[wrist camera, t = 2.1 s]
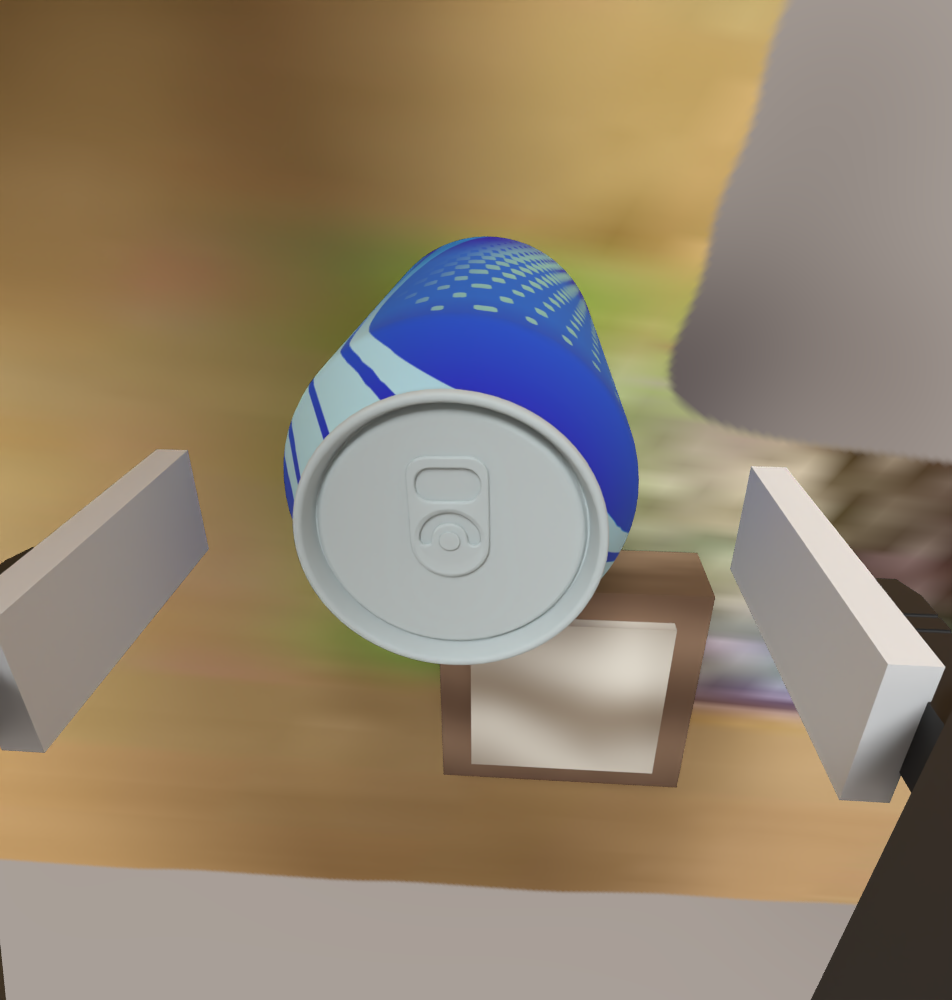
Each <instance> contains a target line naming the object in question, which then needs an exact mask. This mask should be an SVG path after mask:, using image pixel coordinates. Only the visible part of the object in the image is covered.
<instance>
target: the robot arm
mask: <svg viewBox="0 0 952 1000" xmlns="http://www.w3.org/2000/svg"><path fill="white" fill-rule="evenodd" d="M208 549H209V548H208V543H207V538H206V534H205V529H204V524H203V520H202V515H201V510H200V505H199V501H198V496H197V491H196V487H195V482H194V477H193V473H192V468H191V463H190V459H189V454H188V450H165V449H156V450H155V451H154V452H153V453H151V454H150V455H149V456H148V457H146V458H145V459H144V460H143V461H141V462H140V463H139V464H138V465H136V466H135V467H134V468H133V469H131V470H130V471H129V472H128V473H126V474H125V475H124V476H123V477H121V478H120V479H119V480H118V481H116V482H115V483H114V484H113V485H111V486H110V487H109V488H108V489H107V490H105V491H104V492H103V493H102V494H100V495H99V496H98V497H97V498H95V499H94V500H93V501H92V502H90V503H89V504H88V505H87V506H85V507H84V508H83V509H82V510H80V511H79V512H78V513H77V514H75V515H74V516H73V517H72V518H70V519H69V520H68V521H67V522H65V523H64V524H63V525H62V526H60V527H59V528H58V529H57V530H55V531H54V532H53V533H52V534H50V535H49V536H48V537H47V538H45V539H44V540H43V541H42V542H40V543H39V544H38V545H37V546H35V547H32V548H30V549H28V550H26V551H24V552H22V553H20V554H18V555H16V556H13V557H11V558H9V559H7V560H5V561H4V562H3V563H1V564H0V747H1V749H2V750H9V751H25V752H42V753H45V752H46V750H47V749H48V748H49V747H50V745H51V744H52V743H53V742H54V740H55V739H56V738H57V737H58V735H59V734H60V733H61V732H62V731H63V729H64V728H65V727H66V726H67V724H68V723H69V722H70V721H71V719H72V718H73V717H74V716H75V714H76V713H77V712H78V711H79V709H80V708H81V707H82V706H83V704H84V703H85V702H86V701H87V700H88V698H89V697H90V696H91V695H92V693H93V692H94V691H95V690H96V688H97V687H98V686H99V685H100V683H101V682H102V681H103V680H104V678H105V677H106V676H107V675H108V673H109V672H110V671H111V670H112V668H113V667H114V666H115V665H116V664H117V662H118V661H119V660H120V659H121V657H122V656H123V655H124V654H125V652H126V651H127V650H128V649H129V647H130V646H131V645H132V644H133V642H134V641H135V640H136V639H137V637H138V636H139V635H140V634H141V632H142V631H143V630H144V629H145V628H146V626H147V625H148V624H149V623H150V621H151V620H152V619H153V618H154V616H155V615H156V614H157V613H158V611H159V610H160V609H161V608H162V606H163V605H164V604H165V603H166V601H167V600H168V599H169V598H170V596H171V595H172V594H173V593H174V592H175V590H176V589H177V588H178V587H179V585H180V584H181V583H182V582H183V580H184V579H185V578H186V577H187V575H188V574H189V573H190V572H191V570H192V569H193V568H194V567H195V565H196V564H197V563H198V562H199V560H200V559H201V558H202V557H203V556H204V554H205V553H206V552H207V551H208ZM730 569H731V572H732V574H733V576H734V578H735V580H736V582H737V584H738V586H739V588H740V591H741V593H742V595H743V597H744V599H745V601H746V603H747V605H748V608H749V610H750V612H751V614H752V616H753V618H754V620H755V622H756V624H757V627H758V629H759V631H760V633H761V635H762V637H763V639H764V641H765V644H766V646H767V648H768V650H769V652H770V654H771V656H772V658H773V660H774V663H775V665H776V667H777V669H778V671H779V673H780V675H781V677H782V679H783V682H784V684H785V686H786V688H787V690H788V692H789V694H790V696H791V699H792V701H793V703H794V705H795V707H796V709H797V711H798V713H799V715H800V718H801V720H802V722H803V724H804V726H805V728H806V730H807V732H808V735H809V737H810V739H811V741H812V743H813V745H814V747H815V749H816V751H817V754H818V756H819V758H820V760H821V762H822V764H823V766H824V768H825V771H826V773H827V775H828V777H829V779H830V781H831V783H832V785H833V787H834V790H835V792H836V794H837V796H838V798H839V800H849V801H866V802H883V803H890V801H891V798H892V796H893V794H894V791H895V789H896V786H897V784H898V781H899V779H900V776H902V778H903V779H904V781H905V783H906V784H907V786H908V788H909V790H910V791H911V795H910V797H909V799H908V801H907V803H906V805H905V807H904V809H903V811H902V814H901V816H900V818H899V820H898V822H897V824H896V826H895V828H894V830H893V832H892V834H891V836H890V838H889V840H888V842H887V844H886V846H885V848H884V851H883V853H882V855H881V857H880V859H879V861H878V863H877V865H876V867H875V869H874V871H873V873H872V875H871V877H870V879H869V881H868V883H867V886H866V888H865V890H864V892H863V894H862V896H861V898H860V900H859V902H858V904H857V906H856V908H855V910H854V912H853V914H852V916H851V918H850V921H849V923H848V925H847V927H846V929H845V931H844V933H843V935H842V937H841V939H840V941H839V943H838V945H837V947H836V949H835V952H834V953H833V955H832V958H831V960H830V962H829V964H828V966H827V968H826V970H825V972H824V974H823V976H822V978H821V980H820V982H819V985H818V986H817V988H816V990H815V992H814V994H813V997H812V999H811V1000H952V633H951V629H950V628H949V627H948V626H947V624H946V623H945V622H944V621H943V620H942V619H941V618H938V614H937V613H936V612H935V611H934V609H933V608H932V607H931V606H930V605H929V604H928V603H927V601H926V600H925V599H924V598H923V597H922V596H921V595H920V594H918V593H917V592H915V591H913V590H912V589H910V588H909V587H907V586H906V585H904V584H903V583H901V582H900V581H898V580H897V579H882V578H874V577H873V576H872V574H871V573H870V572H869V571H868V569H867V568H866V567H865V566H864V564H863V563H862V562H861V561H860V559H859V558H858V557H857V556H856V554H855V553H854V552H853V551H852V549H851V548H850V547H849V546H848V544H847V543H846V542H845V541H844V539H843V538H842V537H841V536H840V534H839V533H838V532H837V531H836V529H835V528H834V527H833V526H832V524H831V523H830V522H829V521H828V519H827V518H826V517H825V516H824V514H823V513H822V512H821V510H820V509H819V508H818V507H817V505H816V504H815V503H814V502H813V500H812V499H811V498H810V497H809V495H808V494H807V493H806V492H805V490H804V489H803V488H802V487H801V485H800V484H799V483H798V482H797V480H796V479H795V478H794V477H793V475H792V474H791V473H790V472H789V470H788V469H787V468H786V467H755V466H751V470H750V475H749V480H748V485H747V490H746V495H745V500H744V505H743V510H742V514H741V519H740V524H739V529H738V534H737V539H736V544H735V549H734V554H733V558H732V563H731V568H730ZM0 1000H6V997H5V986H4V976H3V966H2V957H1V947H0Z"/></svg>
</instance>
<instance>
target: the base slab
mask: <svg viewBox="0 0 952 1000" xmlns="http://www.w3.org/2000/svg"><path fill="white" fill-rule="evenodd" d="M714 600H715V596H714V593H713V591H712V588H711V586H710V583H709V581H708V578H707V576H706V573H705V571H704V568H703V566H702V563H701V561H700V559H699V556H698V554H697V553H683V552H654V551H626V550H620V552H619V554H618V556H617V558H616V559H615V561H614V562H613V564H612V565H611V567H610V568H609V570H608V571H607V572H606V573H605V575H604V576H603V577H602V578H601V580H600V583H599V585H598V587H597V589H596V591H595V592H594V594H593V596H592V598H591V599H590V601H589V602H588V604H587V605H586V607H585V608H584V609H583V610H582V612H581V613H580V614H579V615H578V617H577V618H576V619H575V620H574V621H573V622H572V623H571V624H570V625H569V626H568V627H566V628H565V629H564V630H563V631H561V632H560V633H559V634H558V635H556V636H555V637H553V638H552V639H550V640H549V641H547V642H546V643H544V644H542V645H540V646H538V647H536V648H535V649H532V650H530V651H528V652H525V653H523V654H520V655H517V656H514V657H511V658H508V659H504V660H500V661H496V662H490V663H484V664H474V665H446V664H440V682H441V711H442V739H443V768H444V775H462V776H480V777H498V778H516V779H534V780H552V781H570V782H589V783H607V784H625V785H643V786H661V787H677V782H678V777H679V773H680V768H681V763H682V758H683V753H684V748H685V743H686V738H687V733H688V728H689V723H690V718H691V713H692V709H693V704H694V699H695V694H696V689H697V684H698V679H699V674H700V669H701V664H702V659H703V654H704V649H705V644H706V640H707V635H708V630H709V625H710V620H711V615H712V610H713V605H714Z"/></svg>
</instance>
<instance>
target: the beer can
mask: <svg viewBox="0 0 952 1000" xmlns="http://www.w3.org/2000/svg"><path fill="white" fill-rule="evenodd" d="M284 483H285V492H286V498H287V502H288V507H289V511H290V514H291V517H292V520H293V533H294V541H295V546H296V550H297V555H298V557H299V560H300V563H301V566H302V569H303V571H304V573H305V575H306V577H307V579H308V581H309V583H310V584H311V586H312V588H313V589H314V591H315V592H316V594H317V595H318V597H319V598H320V599H321V601H322V602H323V603H324V604H325V605H326V607H327V608H328V609H329V610H330V611H331V612H332V613H333V614H334V615H335V616H336V617H337V618H338V619H339V620H340V621H341V622H342V623H344V624H345V625H346V626H347V627H349V628H350V629H351V630H352V631H354V632H355V633H357V634H358V635H360V636H361V637H363V638H364V639H366V640H368V641H370V642H371V643H373V644H375V645H377V646H379V647H381V648H383V649H386V650H388V651H390V652H393V653H396V654H398V655H401V656H404V657H408V658H411V659H415V660H419V661H424V662H429V663H436V664H446V665H474V664H484V663H490V662H496V661H500V660H504V659H508V658H511V657H514V656H517V655H520V654H523V653H525V652H528V651H530V650H532V649H535V648H536V647H538V646H540V645H542V644H544V643H546V642H547V641H549V640H550V639H552V638H553V637H555V636H556V635H558V634H559V633H560V632H561V631H563V630H564V629H565V628H566V627H568V626H569V625H570V624H571V623H572V622H573V621H574V620H575V619H576V618H577V617H578V615H579V614H580V613H581V612H582V610H583V609H584V608H585V607H586V605H587V604H588V602H589V601H590V599H591V598H592V596H593V594H594V592H595V591H596V589H597V587H598V585H599V583H600V580H601V578H602V577H603V576H604V575H605V573H606V572H607V571H608V570H609V568H610V567H611V565H612V564H613V562H614V561H615V559H616V558H617V556H618V554H619V552H620V550H621V549H622V547H623V545H624V543H625V541H626V538H627V536H628V533H629V531H630V528H631V526H632V522H633V518H634V515H635V511H636V505H637V499H638V484H639V476H638V461H637V455H636V449H635V444H634V440H633V437H632V433H631V430H630V427H629V424H628V421H627V418H626V415H625V413H624V410H623V407H622V404H621V401H620V398H619V395H618V393H617V390H616V387H615V384H614V381H613V378H612V376H611V373H610V370H609V367H608V364H607V361H606V359H605V356H604V353H603V350H602V347H601V344H600V341H599V339H598V336H597V333H596V330H595V327H594V324H593V322H592V319H591V316H590V313H589V310H588V307H587V305H586V303H585V300H584V298H583V296H582V294H581V292H580V290H579V289H578V287H577V285H576V284H575V283H574V281H573V280H572V278H571V277H570V276H569V275H568V274H567V272H566V271H565V270H564V269H563V268H562V267H561V266H560V265H559V264H558V263H556V262H555V261H554V260H553V259H551V258H550V257H549V256H547V255H546V254H544V253H542V252H541V251H539V250H537V249H535V248H533V247H531V246H529V245H527V244H524V243H521V242H518V241H515V240H511V239H506V238H499V237H473V238H467V239H462V240H458V241H455V242H451V243H449V244H446V245H444V246H441V247H439V248H438V249H436V250H434V251H432V252H430V253H429V254H427V255H426V256H424V257H423V258H422V259H421V260H419V261H418V262H417V263H416V264H415V265H414V266H413V267H412V268H411V269H410V270H409V271H408V272H407V273H406V274H405V275H404V276H403V277H402V278H401V279H400V281H399V282H398V283H397V284H396V285H395V286H394V287H393V288H392V290H391V291H390V292H389V293H388V294H387V295H386V296H385V297H384V299H383V300H382V301H381V302H380V303H379V304H378V305H377V306H376V308H375V309H374V310H373V311H372V312H371V313H370V314H369V315H368V317H367V318H366V319H365V320H364V321H363V322H362V323H361V324H360V326H359V327H358V328H357V329H356V330H355V331H354V332H353V333H352V335H351V336H350V337H349V338H348V339H347V340H346V341H345V342H344V344H343V345H342V346H341V347H340V348H339V349H338V350H337V351H336V353H335V354H334V355H333V356H332V357H331V358H330V359H329V360H328V362H327V363H326V364H325V365H324V366H323V367H322V368H321V370H320V371H319V372H318V373H317V375H316V376H315V377H314V379H313V380H312V381H311V382H310V384H309V386H308V387H307V389H306V391H305V392H304V394H303V396H302V398H301V400H300V402H299V404H298V406H297V408H296V410H295V413H294V415H293V418H292V421H291V424H290V427H289V430H288V434H287V439H286V444H285V452H284Z"/></svg>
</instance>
